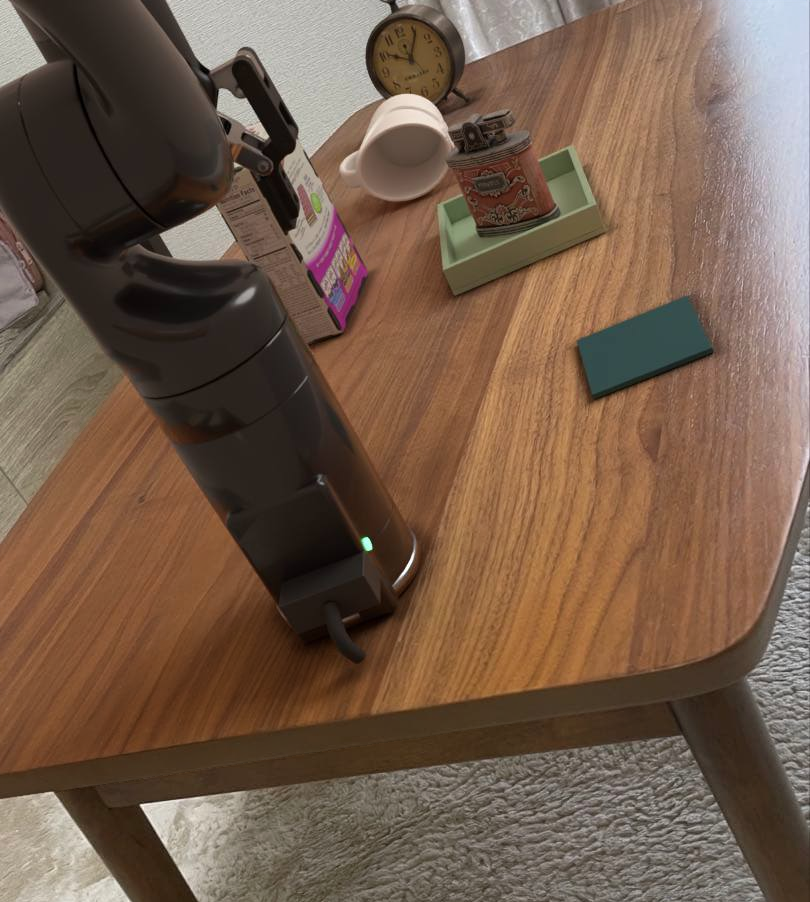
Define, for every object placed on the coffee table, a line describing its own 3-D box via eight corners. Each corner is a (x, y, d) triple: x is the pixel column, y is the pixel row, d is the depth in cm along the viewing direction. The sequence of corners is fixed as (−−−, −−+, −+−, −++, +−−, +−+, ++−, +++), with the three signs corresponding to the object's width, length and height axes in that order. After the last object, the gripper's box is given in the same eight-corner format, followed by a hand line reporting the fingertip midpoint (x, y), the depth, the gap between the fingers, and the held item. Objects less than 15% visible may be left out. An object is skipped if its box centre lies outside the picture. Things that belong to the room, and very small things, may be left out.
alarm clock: (392, 132, 146) (330, -2, 138) (408, 112, 150) (349, -20, 141) (473, 106, 140) (414, -36, 132) (487, 86, 144) (431, -54, 135)
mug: (464, 148, 130) (434, 77, 126) (465, 180, 122) (432, 105, 118) (361, 193, 133) (328, 125, 129) (355, 227, 126) (320, 155, 121)
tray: (606, 231, 99) (596, 203, 98) (454, 296, 102) (442, 270, 101) (582, 169, 111) (572, 144, 110) (447, 228, 114) (436, 204, 113)
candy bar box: (323, 289, 116) (238, 128, 107) (370, 273, 114) (287, 107, 105) (293, 351, 107) (198, 182, 99) (344, 335, 105) (251, 160, 97)
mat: (714, 352, 78) (712, 347, 78) (593, 399, 80) (591, 394, 80) (688, 300, 85) (687, 295, 84) (578, 344, 86) (576, 340, 86)
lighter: (472, 242, 108) (425, 137, 103) (489, 221, 110) (444, 117, 105) (551, 228, 103) (506, 116, 98) (567, 207, 105) (524, 96, 100)
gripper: (-37, 76, 67) (122, 321, 77) (192, -37, 64) (330, 234, 73) (-1, 34, 73) (143, 266, 82) (211, -72, 70) (336, 183, 79)
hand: (230, 251), depth 78 cm, fingers open, 8 cm apart
